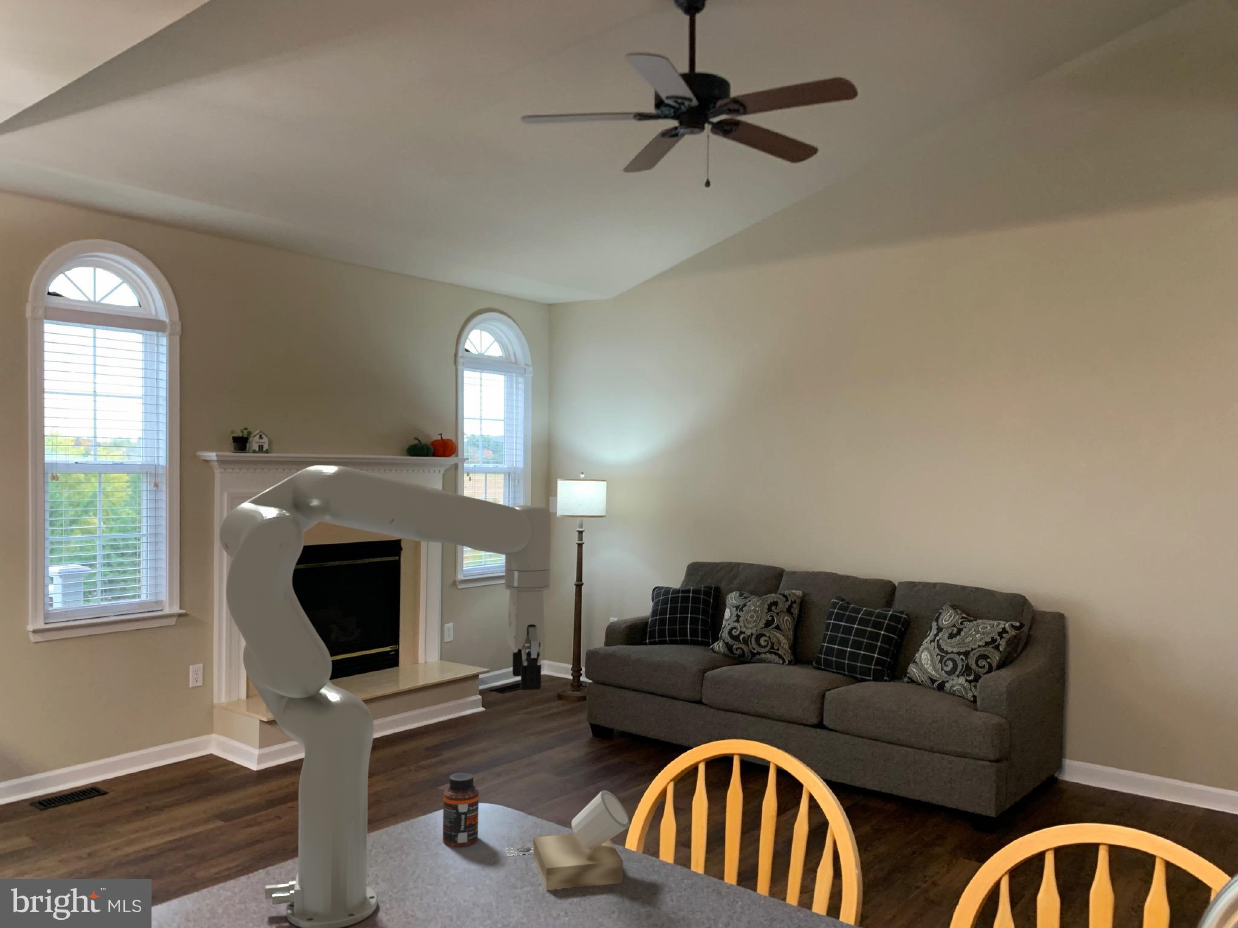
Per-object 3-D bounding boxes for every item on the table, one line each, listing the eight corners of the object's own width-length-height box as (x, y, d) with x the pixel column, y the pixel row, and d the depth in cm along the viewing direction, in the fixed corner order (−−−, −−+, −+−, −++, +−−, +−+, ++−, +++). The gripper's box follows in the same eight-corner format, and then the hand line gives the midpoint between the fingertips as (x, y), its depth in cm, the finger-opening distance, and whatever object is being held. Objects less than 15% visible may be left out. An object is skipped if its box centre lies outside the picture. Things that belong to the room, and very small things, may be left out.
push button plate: (507, 857, 155) (507, 855, 155) (504, 847, 159) (504, 845, 159) (543, 854, 156) (543, 852, 156) (539, 844, 160) (539, 842, 160)
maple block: (546, 894, 143) (546, 868, 143) (533, 861, 155) (533, 837, 155) (622, 886, 146) (622, 860, 146) (604, 854, 158) (604, 830, 158)
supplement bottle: (471, 850, 157) (472, 783, 157) (437, 848, 158) (438, 780, 158) (482, 836, 163) (483, 771, 163) (449, 834, 164) (450, 769, 164)
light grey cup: (567, 833, 147) (601, 806, 146) (569, 807, 154) (601, 781, 153) (597, 861, 148) (630, 835, 147) (598, 835, 155) (629, 809, 154)
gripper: (498, 573, 164) (497, 671, 165) (512, 587, 148) (510, 696, 148) (541, 572, 166) (540, 669, 166) (559, 586, 150) (557, 693, 150)
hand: (526, 682), depth 157 cm, fingers open, 9 cm apart
